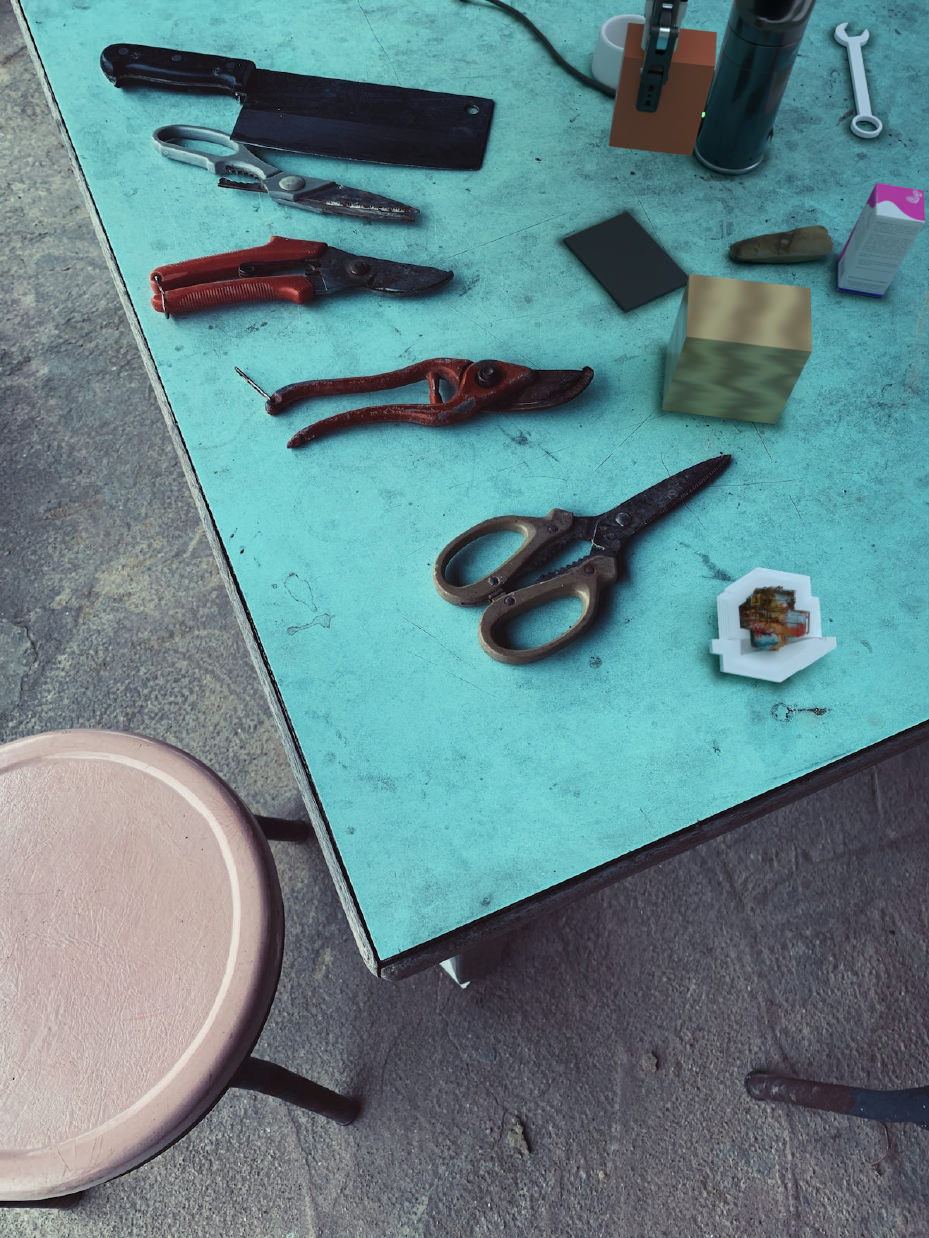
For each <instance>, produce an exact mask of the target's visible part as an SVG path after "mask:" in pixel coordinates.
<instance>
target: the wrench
mask: <svg viewBox="0 0 929 1238" xmlns="http://www.w3.org/2000/svg"><path fill="white" fill-rule="evenodd" d="M848 25H849V22H842V23H840V24H838V25H837V26H836V29H835V31H834V33H833V34H834V35H833V38H834V39H835V41H836V42H837V43H839V44H840V45H841V46H843V47H846V50H847V57H848V63H849V64H848V65H849V69H850V76H851V82H852V89H853V95H854V101H855V109H856V116H854V117H853V119H852V121H851V123H850V130H851V131H852V133H853V134H855V135H856V136H858V137H860V138H862V139H863V138H865V139H872V138H877V136H879V135H880V133H881V131H882V129H883V123H882V121H881V120H880V119H879V118H878V117H876V116H875V115H873V114H872V109H871V108H872V107H871V102H870V96H869V90H868V83H867V77H866V71H865V66H864V60H863V54H862V49H861V48H862V47H864V46H865V45H866V44H867V42H868V41H869V38H870V31H868V29H867V28H865V30H864V31H863V32H862V33H861V35H855V36H848V34H847V32H846V31H845V30H846V29H847V27H848ZM860 121H861V122H863V121H865V122H869V123H872V124H873V125H874V126H875V127H876V129H875V130H874V131H867V130H863V129H861V128H860V127H858V126H857V124H856V123H858V122H860Z"/></svg>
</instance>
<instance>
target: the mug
mask: <svg viewBox="0 0 929 1238" xmlns="http://www.w3.org/2000/svg"><path fill="white" fill-rule="evenodd" d="M628 23H638V24H644V23H645V17H644V16H643V15H639V14H634V13H623V14H617V15H614V16H610V18H607V19H605V21H604V22H603V23H602V24H601V27H600V29H599V32H598V36H597V38H596V43H595V47H594V51H593V55H592V59H591V73H592V76H593V78H594V79H595V81H596V82H598V83H600V84H602V85H604V86H607V87H609V88H611V89H613V90H615V91H616V90H617V85H618V79H619V73H620V67H621V61H622V55H623V50H624V44H625V38H626V32H627V26H628Z"/></svg>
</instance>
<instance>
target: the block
mask: <svg viewBox="0 0 929 1238" xmlns="http://www.w3.org/2000/svg"><path fill="white" fill-rule="evenodd" d="M643 29H644V24H638V23H628V26H627V32H626V38H625V44H624V50H623V55H622V61H621V67H620V73H619V79H618V85H617V90H616V96H615V97H614V102H613V108H612V114H611V115H612V116H611V123H610V131H609V139H608V147H610V148H620V149H627V150H637V151H644V152H654V153H662V154H670V155H671V154H672V155H677V156H678V155H681V156H688V157H692V156H693V152H694V145H695V141H696V137H697V133H698V130H699V126H700V122H701V118H702V115H703V111H704V107H705V103H706V100H707V96H708V92H709V88H710V85H711V81H712V77H713V73H714V70H715V68H716V64H717V61H716V60H717V41H718V32H717V31H712V30H711V31H710V30H701V29H692V28H683V27H680V33H679V38H678V43H677V48H676V51H675V52H674V53H673V56H672V60H671V64H670V68H669V73H668V75H669V77H668V81H666V85H662V89H661V94H660V99H659V103H658V108H657V111H656V112H654V113H649V112H640V111H637V109H636V102H637V96H638V91H639V86H640V81H641V78H640V74H641V73H640V69H641V67H642V65H643V60H644V54H645V51H644V50H643V49H642V47H641V41H642V35H643ZM649 29H650V28H649ZM648 38H649V34H648Z"/></svg>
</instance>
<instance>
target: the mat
mask: <svg viewBox="0 0 929 1238" xmlns="http://www.w3.org/2000/svg"><path fill="white" fill-rule="evenodd" d="M562 242H563V243H564V245H565V246H566V247H567V248H568V249H569V250H570V251H571V253H572V254H573V255H574V257H576V259H578V261H580V263H582V265H583V266H584V267H585V269H586V270H587V271H588V272H589V273H590V275H592V277H593V278H594V279H595V280H596V281H597V282H598V283H599V285H600V286H601V287H602V288H603V289H604V290H605V292H607V294H608V295H609V296H610V297H611V298H612V299H613V300H614V302H615V303H616V304H617V305H618V306H619V307H620V309H621V310H622V311H623V312H624V313H626V314H627V313H629V312H630V311H633V310H635V309H637V308H639V307H642V306H644V305H646V304H648V303H651V302H652V301H655V300H657V299H659V298H661V297H663V296H665V295H668V294H670V293H672V292H674V291H676V290H679V289H681V288H683V287H686V284H687V280H688V277H689V275H688V274H687V273H686V272H685V271H684V270H683V269H682V268H681V267H680V266H679V265H678V263H676V262H675V260H674V259H672V258H671V255H669V254H668V253H667V251H665V250H664V249H663V248H662V247H661V246H660V244H659V243H658V242H657V241H656V240H655V239H654V238H653V237H652V236H651V235H650V234H649V233H648V231H646V230H645V229H644V227H643V226H642V225H641V224H640V223H639V222H638V221H637V220H636V219H635V218H634V217H633V216H632V215H631V214H630V212H628V211H625V212H623V213H621V214H618V215H615V216H613V217H611V218H608V219H606V220H604V221H601V222H599V223H597V224H595V225H592V226H589V227H588V228H586V229H583V230H581V231H578V232H576V233H574V234H571V235H569V236H565V238H563V239H562Z"/></svg>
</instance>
